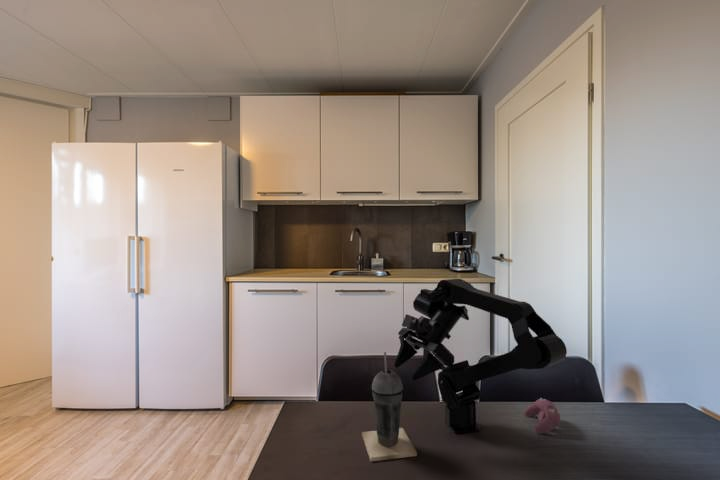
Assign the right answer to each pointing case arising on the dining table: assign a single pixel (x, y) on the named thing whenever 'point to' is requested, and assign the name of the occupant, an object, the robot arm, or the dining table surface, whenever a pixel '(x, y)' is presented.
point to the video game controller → (543, 415)
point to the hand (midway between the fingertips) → (403, 372)
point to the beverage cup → (387, 405)
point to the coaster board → (383, 452)
